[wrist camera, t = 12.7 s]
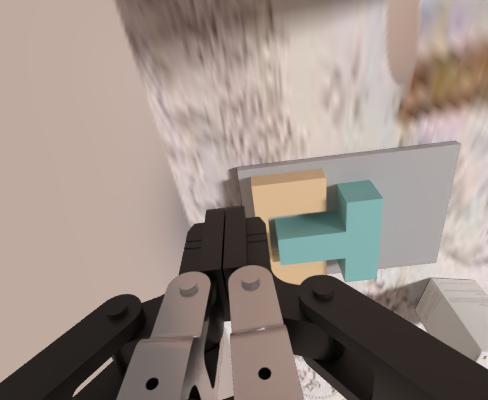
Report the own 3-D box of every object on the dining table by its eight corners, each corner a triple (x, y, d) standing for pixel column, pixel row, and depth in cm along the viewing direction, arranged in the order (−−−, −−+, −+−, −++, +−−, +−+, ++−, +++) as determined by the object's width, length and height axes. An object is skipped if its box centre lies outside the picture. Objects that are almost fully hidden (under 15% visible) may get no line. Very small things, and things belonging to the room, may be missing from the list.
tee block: (369, 179, 42) (383, 198, 38) (365, 255, 48) (376, 278, 44) (271, 191, 43) (275, 211, 39) (279, 265, 49) (283, 288, 45)
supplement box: (413, 310, 55) (456, 387, 45) (430, 276, 52) (482, 350, 41) (457, 313, 56) (510, 390, 45) (477, 279, 52) (540, 354, 41)
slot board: (456, 140, 41) (473, 152, 38) (432, 258, 50) (445, 275, 47) (237, 167, 42) (237, 180, 39) (253, 277, 51) (254, 294, 48)
